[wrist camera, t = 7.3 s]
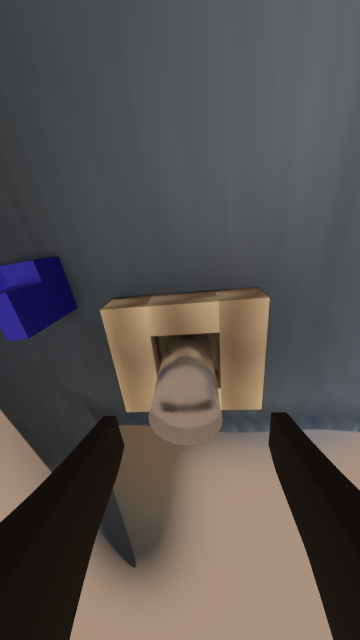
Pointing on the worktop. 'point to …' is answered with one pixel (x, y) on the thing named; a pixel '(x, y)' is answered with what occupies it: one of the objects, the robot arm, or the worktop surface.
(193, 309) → the pocket block
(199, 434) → the pin
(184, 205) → the worktop surface
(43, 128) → the worktop surface
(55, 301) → the blue curved cradle
